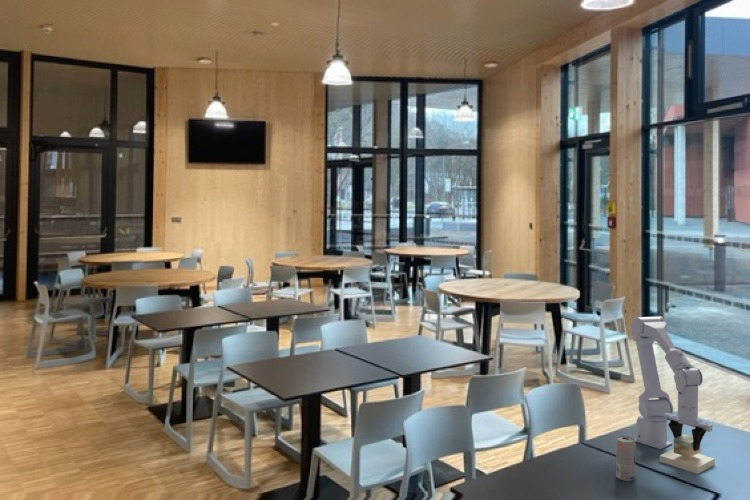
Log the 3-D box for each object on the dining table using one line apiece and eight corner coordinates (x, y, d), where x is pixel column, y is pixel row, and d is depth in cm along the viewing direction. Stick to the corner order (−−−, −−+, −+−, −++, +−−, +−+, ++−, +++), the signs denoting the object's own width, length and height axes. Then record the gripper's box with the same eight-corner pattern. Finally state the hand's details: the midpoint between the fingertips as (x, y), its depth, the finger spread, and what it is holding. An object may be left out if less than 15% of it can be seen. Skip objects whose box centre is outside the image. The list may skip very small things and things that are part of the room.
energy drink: (634, 475, 187) (634, 436, 186) (635, 482, 182) (635, 443, 181) (615, 473, 189) (615, 435, 188) (616, 480, 184) (616, 441, 183)
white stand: (659, 461, 197) (659, 455, 197) (677, 453, 203) (677, 447, 203) (697, 474, 187) (697, 467, 187) (714, 464, 194) (714, 458, 194)
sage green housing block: (673, 452, 195) (673, 438, 195) (684, 447, 199) (684, 434, 199) (689, 457, 191) (689, 443, 191) (700, 452, 195) (700, 438, 195)
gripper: (659, 402, 198) (658, 443, 198) (704, 413, 186) (704, 457, 187) (670, 398, 202) (670, 438, 203) (716, 409, 190) (715, 451, 191)
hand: (687, 447), depth 195 cm, fingers closed on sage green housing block, 5 cm apart
